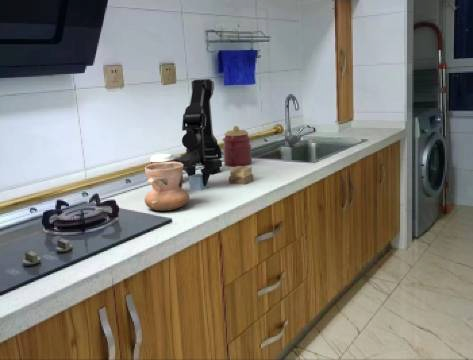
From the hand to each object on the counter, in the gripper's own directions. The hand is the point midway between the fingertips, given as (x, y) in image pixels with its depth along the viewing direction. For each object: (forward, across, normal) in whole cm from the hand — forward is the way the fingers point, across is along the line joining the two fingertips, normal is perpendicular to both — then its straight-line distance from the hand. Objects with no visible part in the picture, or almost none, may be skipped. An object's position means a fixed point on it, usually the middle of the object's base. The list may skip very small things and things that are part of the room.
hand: (199, 185), depth 186 cm
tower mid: (-2, +10, +14) cm, 17 cm away
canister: (+1, -11, +45) cm, 46 cm away
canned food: (+1, -15, +3) cm, 15 cm away
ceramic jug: (+1, +6, -25) cm, 26 cm away
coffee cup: (+1, -4, -15) cm, 16 cm away
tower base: (+2, +10, +14) cm, 17 cm away
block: (+1, 0, 0) cm, 1 cm away
